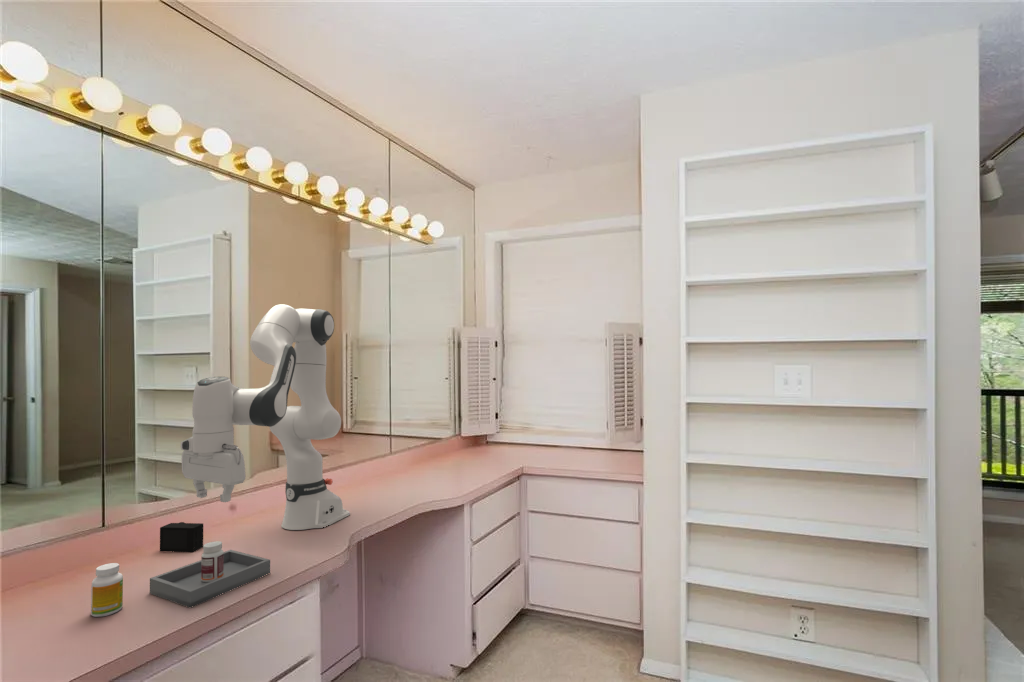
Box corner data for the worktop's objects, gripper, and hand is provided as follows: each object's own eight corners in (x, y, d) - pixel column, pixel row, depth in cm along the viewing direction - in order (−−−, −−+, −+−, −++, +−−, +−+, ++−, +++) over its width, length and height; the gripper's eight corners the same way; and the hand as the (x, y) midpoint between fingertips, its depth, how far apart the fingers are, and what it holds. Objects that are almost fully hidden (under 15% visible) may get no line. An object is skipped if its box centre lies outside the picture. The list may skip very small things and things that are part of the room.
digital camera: (206, 545, 151) (206, 521, 151) (193, 552, 145) (193, 527, 146) (173, 544, 152) (174, 521, 152) (159, 551, 146) (160, 527, 147)
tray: (230, 562, 137) (230, 549, 137) (270, 573, 130) (270, 559, 130) (149, 593, 120) (149, 578, 120) (190, 607, 112) (190, 591, 112)
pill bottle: (218, 573, 128) (219, 539, 129) (226, 578, 125) (227, 543, 125) (197, 579, 125) (198, 544, 125) (205, 584, 121) (205, 548, 122)
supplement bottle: (125, 610, 111) (125, 565, 112) (93, 620, 107) (94, 573, 108) (119, 603, 115) (120, 559, 115) (88, 612, 111) (89, 566, 111)
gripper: (252, 443, 124) (252, 500, 124) (201, 438, 133) (201, 491, 133) (227, 448, 118) (227, 508, 118) (176, 442, 128) (176, 497, 127)
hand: (213, 499), depth 126 cm, fingers open, 8 cm apart
